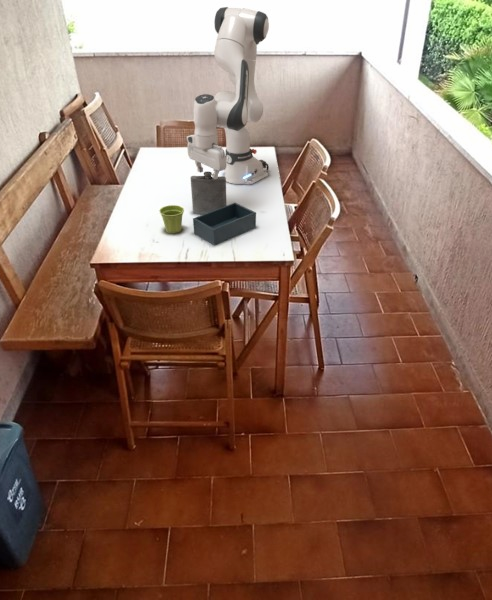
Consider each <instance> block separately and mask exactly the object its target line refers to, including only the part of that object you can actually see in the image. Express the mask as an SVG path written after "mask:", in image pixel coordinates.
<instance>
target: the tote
mask: <svg viewBox="0 0 492 600" xmlns="http://www.w3.org/2000/svg"><path fill="white" fill-rule="evenodd" d="M192 225H193V234H194V235H195V236H197V237H199V238H201V239H202V240H204V241H206V242H207V243H210V244H211V245H213V246H216V245H219V244H221V243H223V242H225V241H228V240H230V239H232V238H234V237H237V236H240V235H241V234H244V233H246V232H248V231H252V230H253V229H255V228H257V212H256V211H253V210H252V209H249V208H248V207H245V206H244V205H241V204H239V203H237V202H233V203H229V204H227V206H224V207H222V208H219V209H216V210H214V211H211V212H209V213H206V214H203V215H198V216H195V217H193V218H192Z"/></svg>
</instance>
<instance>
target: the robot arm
mask: <svg viewBox="0 0 492 600" xmlns="http://www.w3.org/2000/svg"><path fill="white" fill-rule="evenodd" d="M213 23H214V30H215V32H216V34H217V37H216V42H215V45H214V60H215V61H216V63H217V65H218V66H219V67H220V68H221V69H222V70H223V71H225V72H227V73H228V78H229V80H230V82H232V84H233V86H234V89H235V92H233V91H230V90H229V91H228V90H227V91H219V92H217V93H216V94H215V95H213V94H209V93H204V94H199V95H197V96H195V97H194V100H193V111H192V112H193V124H194V131H193V134H191V135H187V136H186V141H187V155H188V158H189V159H190V160H192V161H194V163H195V166H196V168H197V169H196V171H197V172H198V173H204V167H203V166H206V167H209V168H210V169H213V173H212V175H211V177H212V178H213V179H217V178H218V177H219V173H220V172H221V171H224V174H223V177H226V183H228V184H232V185H233V184H234V185H253V184H255V183H256V182H258V181H260V180H262V179H264V178H265V177H266V178H267V176H269V172H268V171H269V168H270V167H269V164H268V163H267V161H265V160H264V159H258V158H257V157H255V156H254V155H256V154H257V152H258V151H257V149H254V148H251V133H250V131H249V130H248V128H247V127H246V126H247V124H248V123H258V122H259V121H260V120H261V119H262V117H263V115H264V106H263V103H262V101H261V99H260V98H259V96H258V93H257V91H256V85H255V72H256V63H257V51H258V45H259V44H260V43H261V42H263V41H264V40H265V39H266V38H267V35H268V32H269V29H270V22H269V17H268V15H267V14H266V13H265V12H263V11H260V10H258V11H256V10H253V9H250V8H246V7H245V8H238V7H228V6H225V7H220V8H219V9H218V10H217V11H216V12H215V16H214V21H213ZM217 128H221V129H224V134H225V147H226V148H225V150H224V148H223V146H221V145H219V143H218V142H219V138H218V137H219V136H218V129H217ZM253 154H254V155H253ZM265 169H266V170H265Z"/></svg>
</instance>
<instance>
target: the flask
mask: <svg viewBox="0 0 492 600" xmlns="http://www.w3.org/2000/svg"><path fill="white" fill-rule="evenodd" d="M212 174H213V172H211V171H203V175H191V176H190V191H191V202H192V203H191V205H192V214H193V215H199V216H201V215H203V214H206V213H209V212H211V211H214V210H216V209H219V208H222V207H224V206H227V205H228V204H227V182H226V177H224V175H223V176H218V178H217V179H213V178H212Z"/></svg>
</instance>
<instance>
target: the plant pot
mask: <svg viewBox="0 0 492 600" xmlns="http://www.w3.org/2000/svg"><path fill="white" fill-rule="evenodd" d="M158 211H159V214H160V216H161V218H162V221H163V225H164V229H165V232H167V233H168V234H177V233H180V232H182V226H183V215H184V212H185V208H184V207H183V206H181V205H176V204H171V205H170V204H169V205H165V206H162V207H161V208H159V210H158Z"/></svg>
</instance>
